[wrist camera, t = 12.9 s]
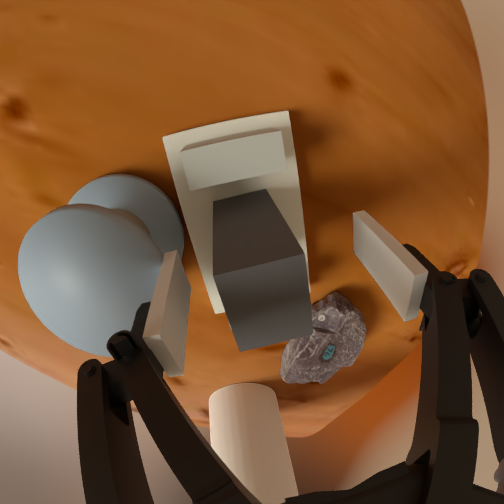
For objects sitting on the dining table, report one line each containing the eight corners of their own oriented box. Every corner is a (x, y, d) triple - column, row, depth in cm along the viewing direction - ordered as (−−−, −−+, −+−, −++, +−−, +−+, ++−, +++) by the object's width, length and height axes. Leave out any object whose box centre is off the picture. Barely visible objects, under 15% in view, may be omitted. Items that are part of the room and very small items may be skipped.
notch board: (165, 135, 19) (151, 142, 15) (284, 110, 19) (302, 111, 15) (215, 305, 27) (216, 341, 23) (306, 285, 27) (322, 317, 23)
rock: (372, 294, 29) (391, 321, 25) (329, 363, 34) (340, 390, 30) (308, 284, 27) (322, 314, 23) (271, 360, 32) (278, 390, 28)
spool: (50, 196, 19) (-5, 239, 12) (163, 156, 20) (133, 184, 12) (96, 298, 25) (69, 361, 17) (199, 277, 25) (196, 347, 18)
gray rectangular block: (212, 201, 21) (212, 276, 12) (265, 188, 21) (304, 253, 12) (229, 258, 23) (240, 351, 14) (277, 246, 23) (313, 333, 14)
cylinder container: (277, 378, 34) (330, 596, 8) (274, 412, 38) (313, 586, 12) (204, 385, 33) (224, 610, 7) (213, 418, 37) (232, 596, 11)
